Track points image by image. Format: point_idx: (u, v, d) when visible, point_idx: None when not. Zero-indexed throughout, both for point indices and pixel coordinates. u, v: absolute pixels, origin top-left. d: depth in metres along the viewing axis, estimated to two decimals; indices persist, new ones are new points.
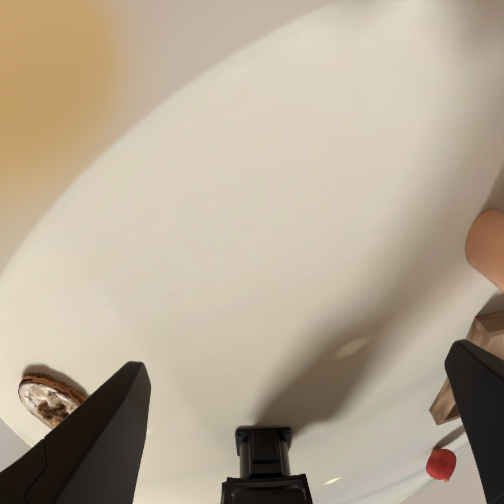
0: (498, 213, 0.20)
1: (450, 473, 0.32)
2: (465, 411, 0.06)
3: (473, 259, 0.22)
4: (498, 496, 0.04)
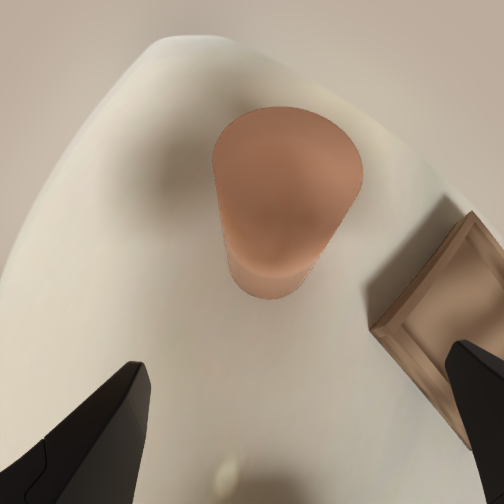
0: None
1: None
2: (465, 411, 0.06)
3: (254, 292, 0.21)
4: (498, 496, 0.04)
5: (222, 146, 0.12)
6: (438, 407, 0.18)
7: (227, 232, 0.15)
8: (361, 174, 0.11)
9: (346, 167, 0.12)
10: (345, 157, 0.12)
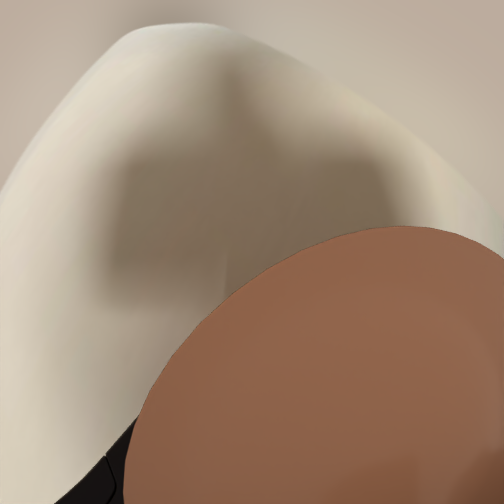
0: None
1: None
2: None
3: None
4: None
5: (153, 478, 0.02)
6: None
7: None
8: None
9: None
10: None
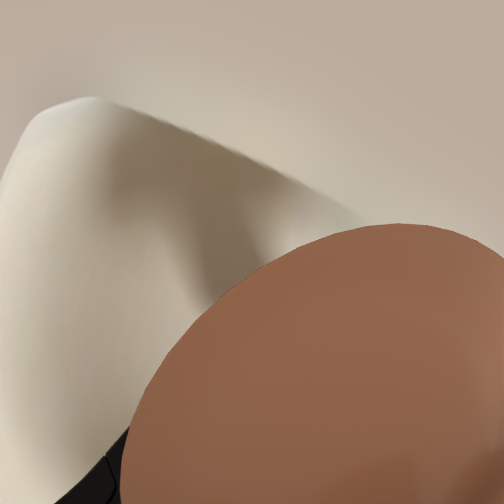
0: None
1: None
2: None
3: None
4: None
5: (149, 475, 0.02)
6: None
7: None
8: None
9: None
10: None
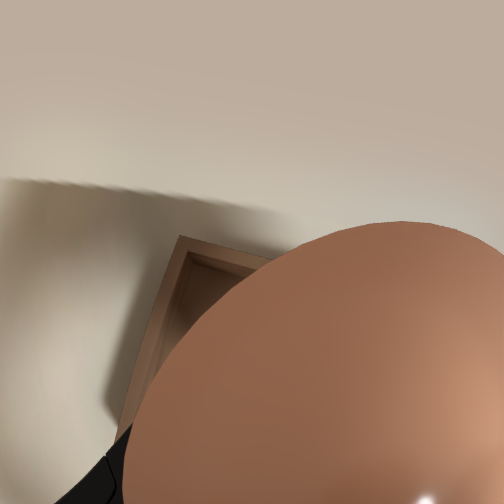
0: None
1: None
2: None
3: None
4: None
5: (152, 473, 0.02)
6: None
7: None
8: None
9: None
10: None
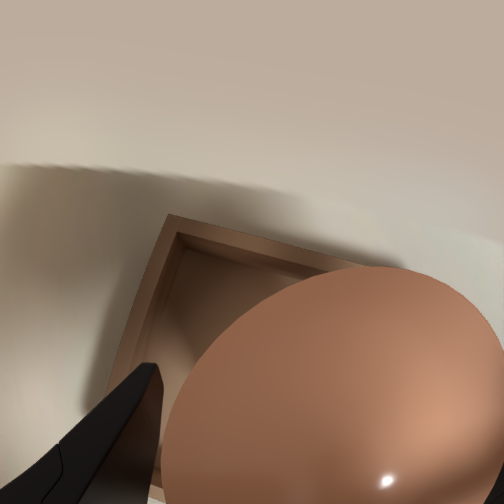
0: None
1: None
2: None
3: None
4: (490, 502, 0.04)
5: (183, 446, 0.03)
6: None
7: None
8: None
9: (486, 447, 0.03)
10: (491, 420, 0.03)
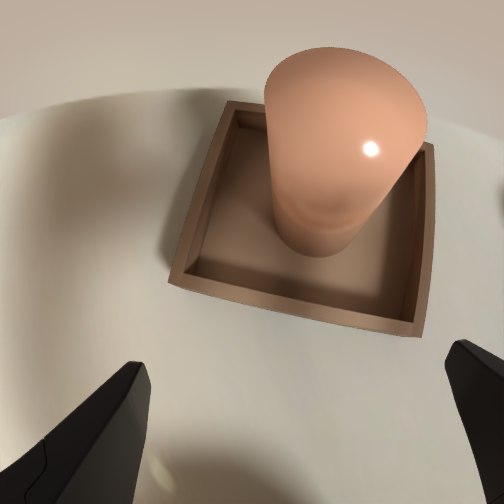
0: None
1: None
2: (465, 411, 0.06)
3: (305, 250, 0.19)
4: (498, 496, 0.04)
5: (273, 88, 0.10)
6: (310, 318, 0.19)
7: (281, 184, 0.13)
8: (425, 115, 0.09)
9: (409, 108, 0.09)
10: (406, 97, 0.09)
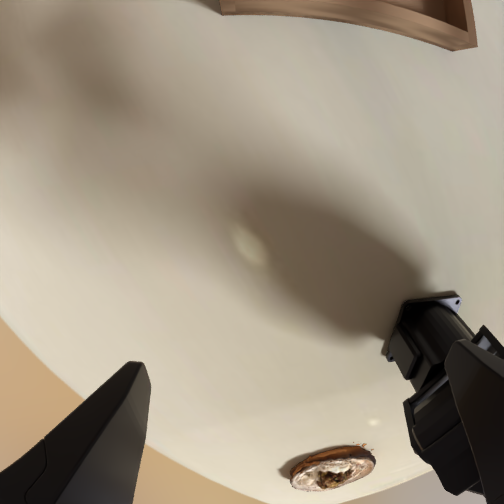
0: None
1: None
2: (465, 411, 0.06)
3: None
4: (499, 496, 0.04)
5: None
6: (370, 24, 0.14)
7: None
8: None
9: None
10: None
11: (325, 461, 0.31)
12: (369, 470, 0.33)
